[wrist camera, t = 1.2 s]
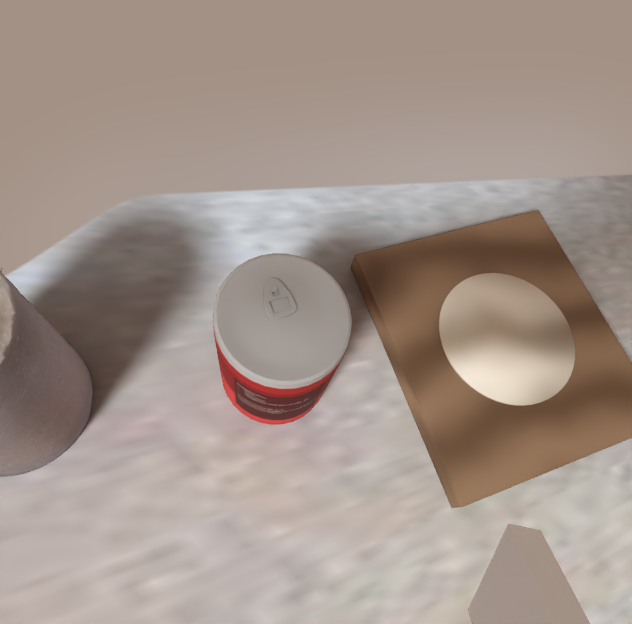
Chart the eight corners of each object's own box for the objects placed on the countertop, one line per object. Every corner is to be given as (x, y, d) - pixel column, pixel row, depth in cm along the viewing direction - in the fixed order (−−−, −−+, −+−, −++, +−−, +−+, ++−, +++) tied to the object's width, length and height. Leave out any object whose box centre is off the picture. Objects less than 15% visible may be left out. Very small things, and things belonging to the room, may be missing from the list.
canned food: (284, 307, 39) (297, 230, 29) (345, 388, 37) (382, 334, 27) (200, 359, 36) (183, 294, 26) (260, 448, 34) (267, 415, 24)
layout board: (648, 427, 39) (670, 422, 37) (451, 507, 34) (464, 506, 32) (526, 222, 46) (539, 208, 44) (350, 267, 41) (356, 253, 39)
